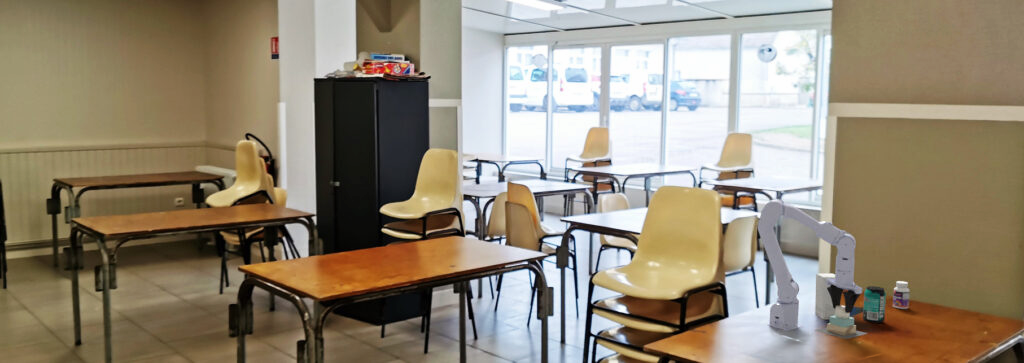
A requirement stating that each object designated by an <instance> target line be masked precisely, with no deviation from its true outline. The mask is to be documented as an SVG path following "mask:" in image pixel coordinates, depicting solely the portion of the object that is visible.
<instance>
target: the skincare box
mask: <svg viewBox="0 0 1024 363" xmlns="http://www.w3.org/2000/svg"><path fill="white" fill-rule="evenodd" d="M826 279H835V274H834V273H825V272H824V273H815V307H814V310H815V312H814V314H815V315H816V316H817V317H819V318H820V319H822V320H830V316H835V313H836V308H835V309H834V308H833V304H832V300H831V296H830V294H829V292H828V290H827V287H830V286H831V285H827V284H826Z"/></svg>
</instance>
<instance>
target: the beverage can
mask: <svg viewBox="0 0 1024 363" xmlns="http://www.w3.org/2000/svg"><path fill="white" fill-rule="evenodd" d="M863 295H864V296H863V312H862V319H863V320H864V322H866V323H871V324H882V323H883V322H885V315H886V299H887V293H886V292H885V288H884V287H880V286H871V285H870V286H866V288H865V290H864V293H863Z"/></svg>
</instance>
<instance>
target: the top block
mask: <svg viewBox="0 0 1024 363" xmlns="http://www.w3.org/2000/svg"><path fill="white" fill-rule="evenodd" d="M829 324H832V325H836V326H840V327H843V328H845V327H849V326H853V325H855V317H852V316H849V319H840V318H836V317H835V316H830V319H829Z"/></svg>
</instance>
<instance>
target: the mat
mask: <svg viewBox="0 0 1024 363" xmlns="http://www.w3.org/2000/svg"><path fill="white" fill-rule="evenodd" d="M814 331H816V332H820V333H822V334H827V335H830V336H835V337H838V338H841V339H845V340H849V339H852V338H853V339H854V338H857V337H860V336H864V335H867V334H868V332H863V331H859V330H856V333H853V334H849V335H845V336H844V335H840V334H836V333H832V332H829V331H827V326H826V327H822V328H818V329H815V330H814Z"/></svg>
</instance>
